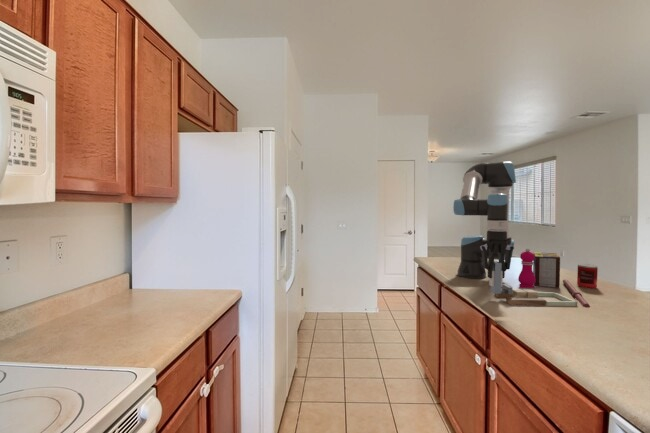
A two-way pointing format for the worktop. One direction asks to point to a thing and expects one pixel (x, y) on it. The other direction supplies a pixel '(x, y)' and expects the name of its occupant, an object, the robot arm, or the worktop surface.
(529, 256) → the pepper mill
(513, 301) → the groove board
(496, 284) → the t-shaped gray bracket
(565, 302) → the tray
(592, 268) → the canned food
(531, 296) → the light wooden cube
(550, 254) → the protein box
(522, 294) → the beige cube
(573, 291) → the rolling pin
